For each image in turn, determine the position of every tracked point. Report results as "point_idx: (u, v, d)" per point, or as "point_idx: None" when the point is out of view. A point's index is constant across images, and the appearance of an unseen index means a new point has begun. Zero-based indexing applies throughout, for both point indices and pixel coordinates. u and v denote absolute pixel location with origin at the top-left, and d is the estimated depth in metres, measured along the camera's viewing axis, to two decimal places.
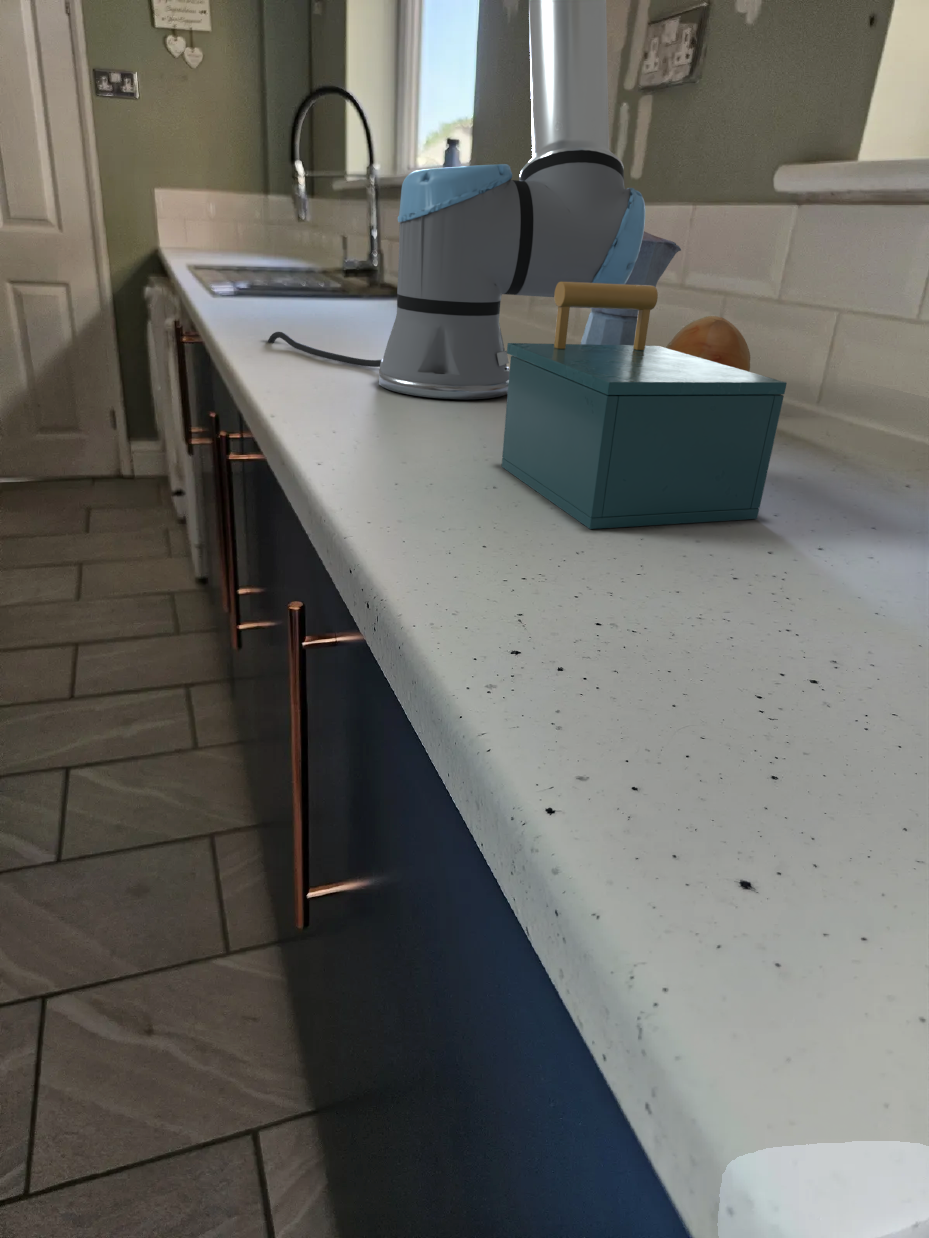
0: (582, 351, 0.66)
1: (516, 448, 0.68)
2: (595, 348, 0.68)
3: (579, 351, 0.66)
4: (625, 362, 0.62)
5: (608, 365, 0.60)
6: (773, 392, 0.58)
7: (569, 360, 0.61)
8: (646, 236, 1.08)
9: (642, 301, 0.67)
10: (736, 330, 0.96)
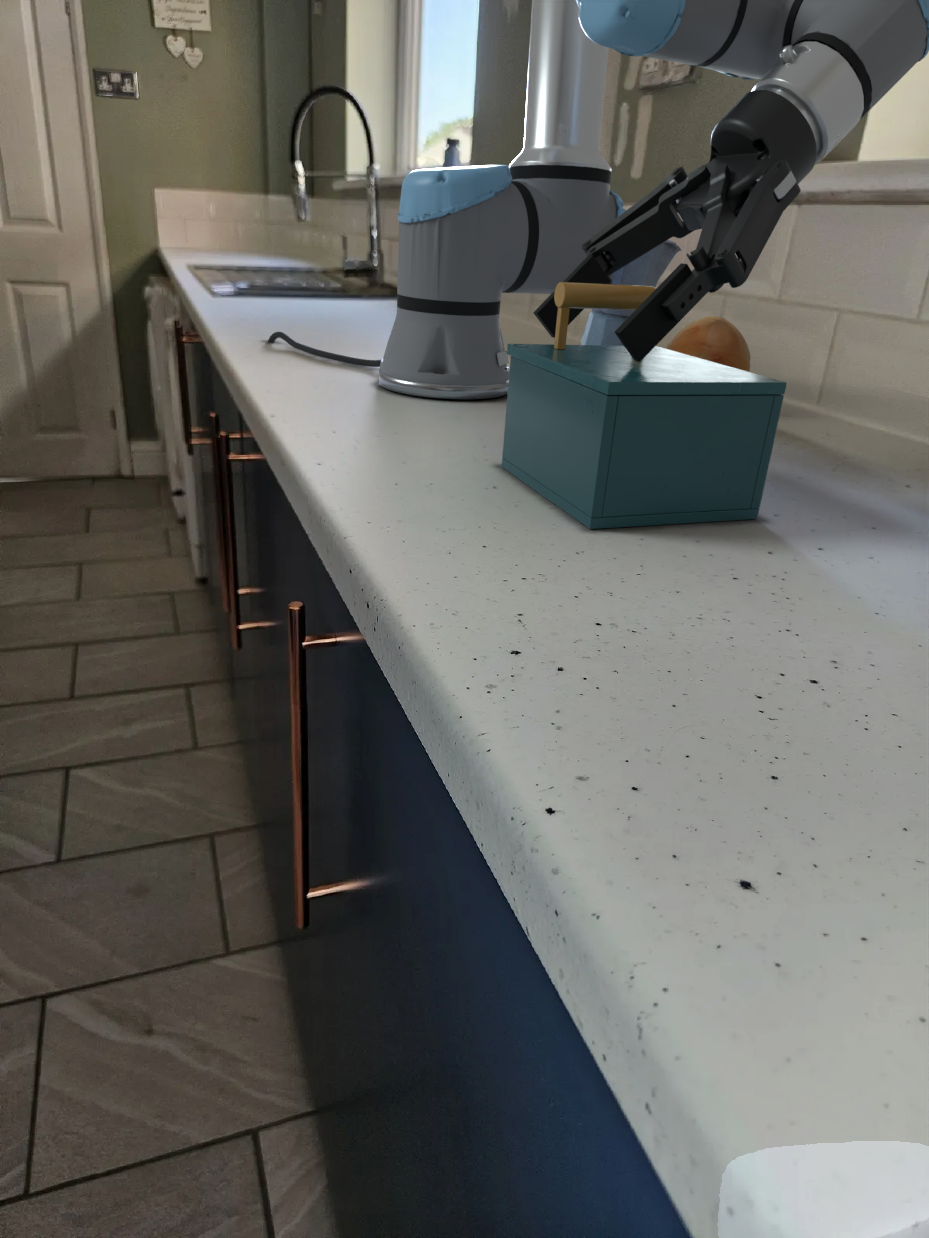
0: (582, 352, 0.66)
1: (516, 448, 0.68)
2: (595, 349, 0.68)
3: (579, 352, 0.66)
4: (625, 362, 0.62)
5: (608, 365, 0.60)
6: (773, 392, 0.58)
7: (569, 360, 0.61)
8: None
9: (642, 302, 0.67)
10: (736, 330, 0.96)
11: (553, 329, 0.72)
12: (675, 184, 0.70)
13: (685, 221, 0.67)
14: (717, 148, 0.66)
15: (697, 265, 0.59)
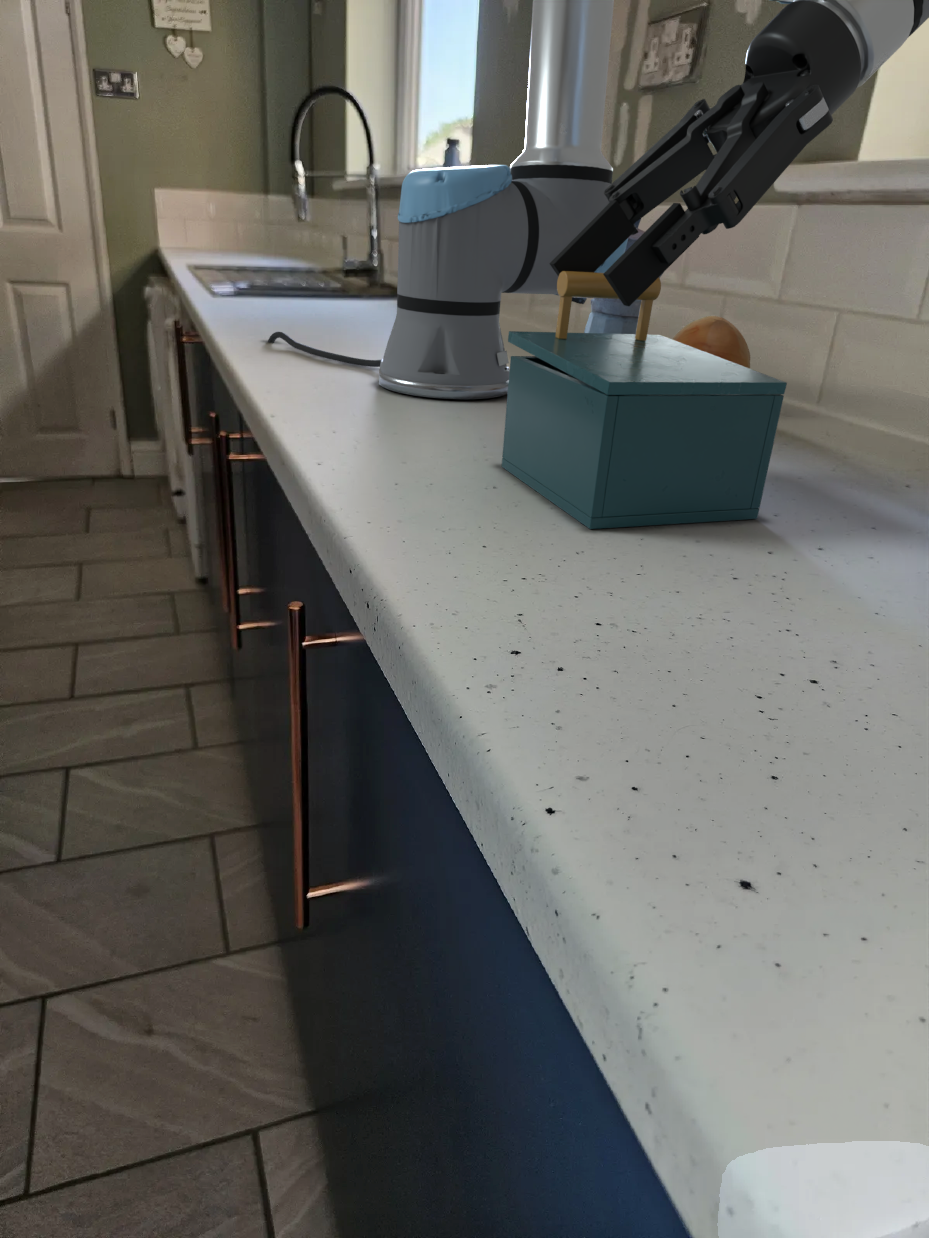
0: (583, 342, 0.66)
1: (516, 448, 0.68)
2: (597, 338, 0.68)
3: (580, 342, 0.66)
4: (626, 356, 0.62)
5: (609, 360, 0.60)
6: (773, 392, 0.58)
7: (570, 354, 0.61)
8: None
9: (645, 292, 0.66)
10: (736, 330, 0.96)
11: None
12: (702, 114, 0.65)
13: (716, 147, 0.62)
14: (752, 67, 0.61)
15: (688, 205, 0.57)
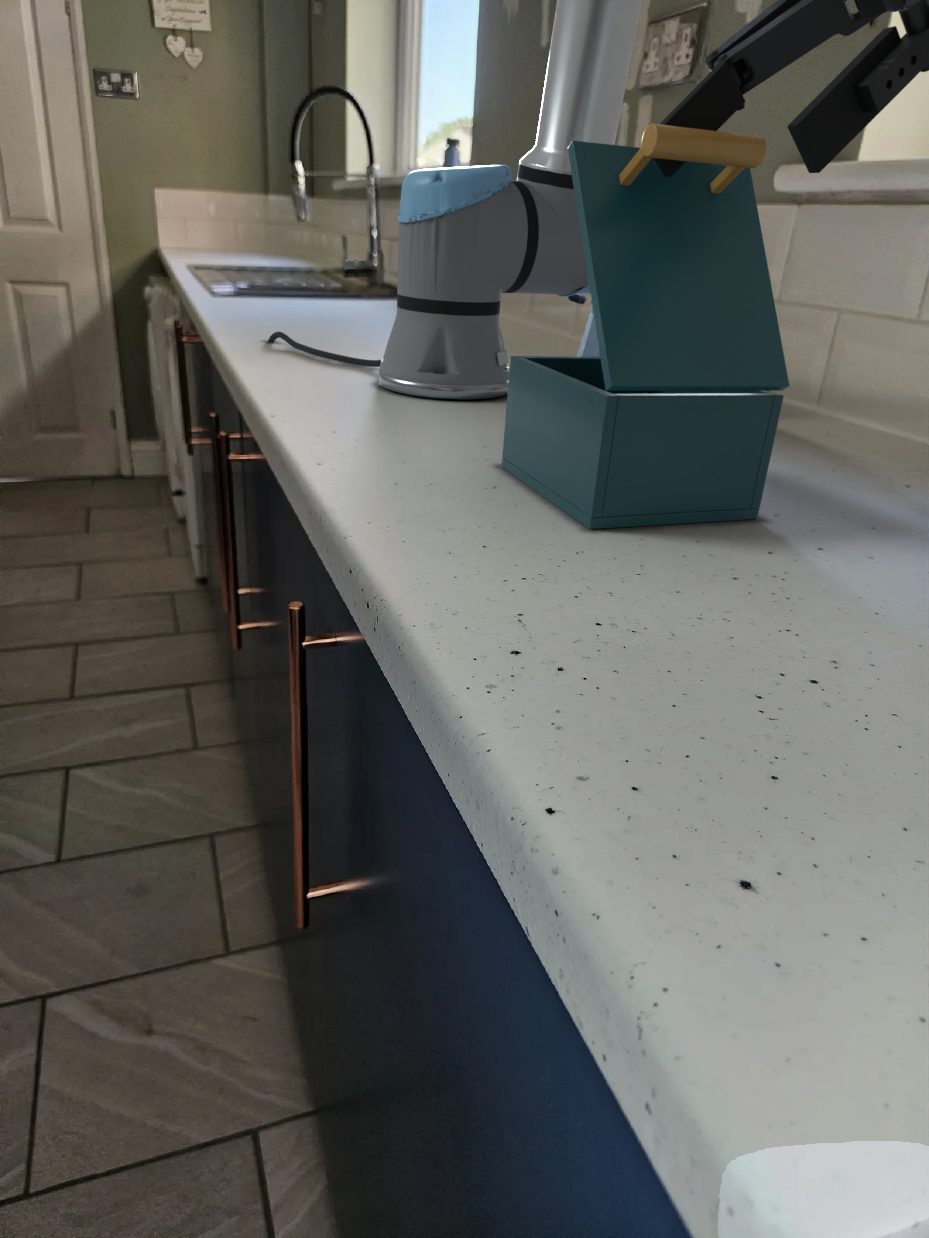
0: (644, 202, 0.57)
1: (516, 448, 0.68)
2: (666, 180, 0.57)
3: (640, 202, 0.56)
4: (668, 274, 0.56)
5: (643, 292, 0.56)
6: (771, 390, 0.59)
7: (610, 262, 0.55)
8: None
9: (740, 165, 0.55)
10: None
11: (668, 164, 0.55)
12: None
13: (861, 4, 0.49)
14: None
15: (914, 25, 0.41)
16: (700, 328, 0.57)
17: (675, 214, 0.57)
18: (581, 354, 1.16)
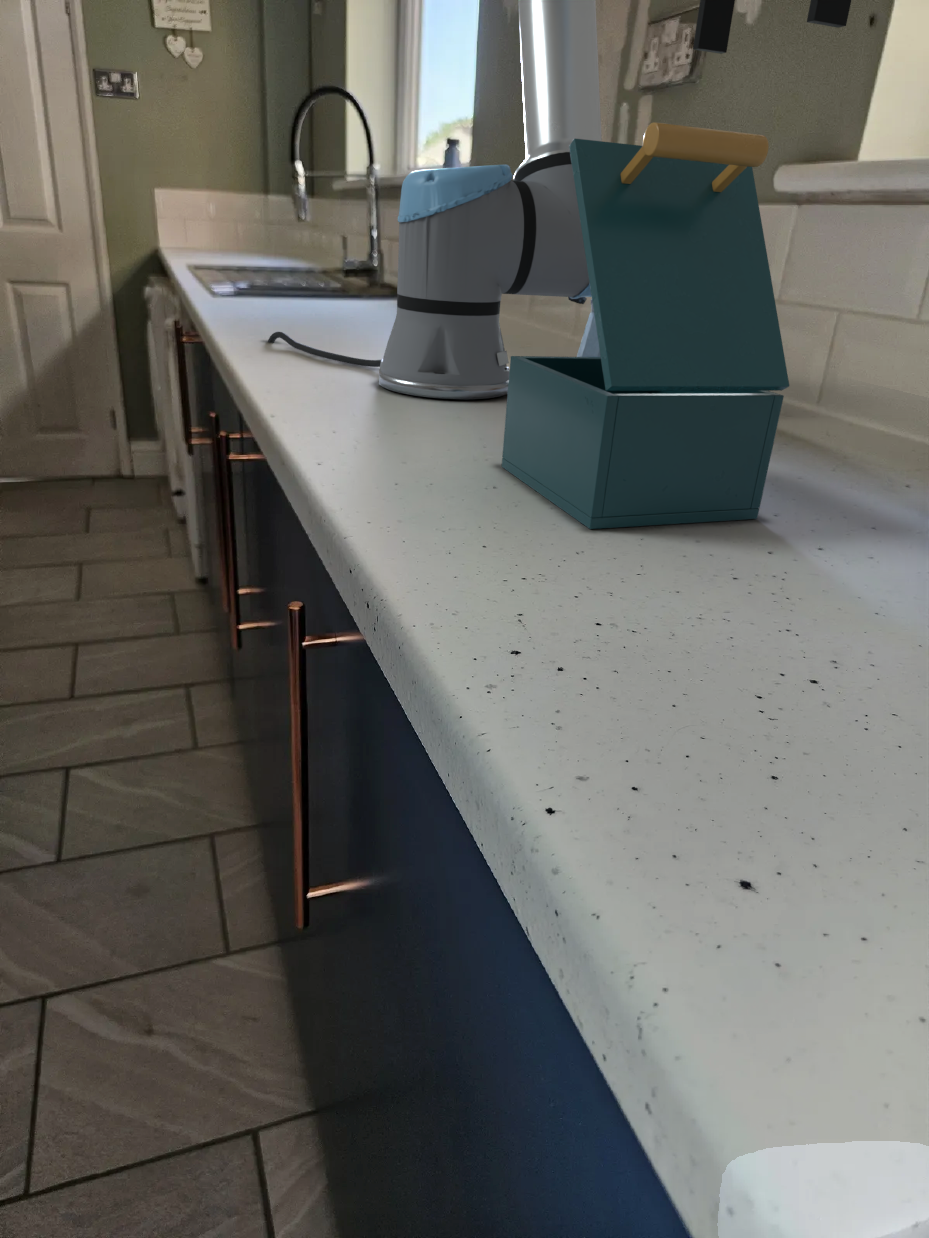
0: (645, 200, 0.56)
1: (516, 448, 0.68)
2: (668, 178, 0.57)
3: (642, 200, 0.56)
4: (669, 274, 0.56)
5: (643, 292, 0.55)
6: (771, 390, 0.59)
7: (611, 262, 0.55)
8: None
9: (742, 164, 0.55)
10: None
11: (719, 47, 0.70)
12: None
13: None
14: None
15: None
16: (700, 328, 0.57)
17: (676, 213, 0.57)
18: (581, 354, 1.16)
